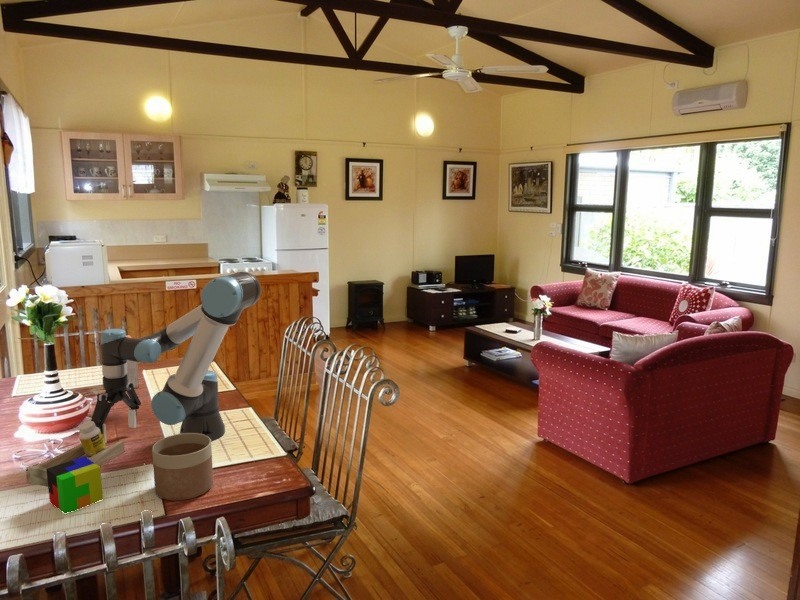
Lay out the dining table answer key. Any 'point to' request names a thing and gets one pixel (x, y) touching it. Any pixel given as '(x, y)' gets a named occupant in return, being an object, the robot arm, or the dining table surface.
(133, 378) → the cracker box
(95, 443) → the pill bottle
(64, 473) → the puzzle toy
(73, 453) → the guide channel
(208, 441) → the planter
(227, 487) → the dining table surface
